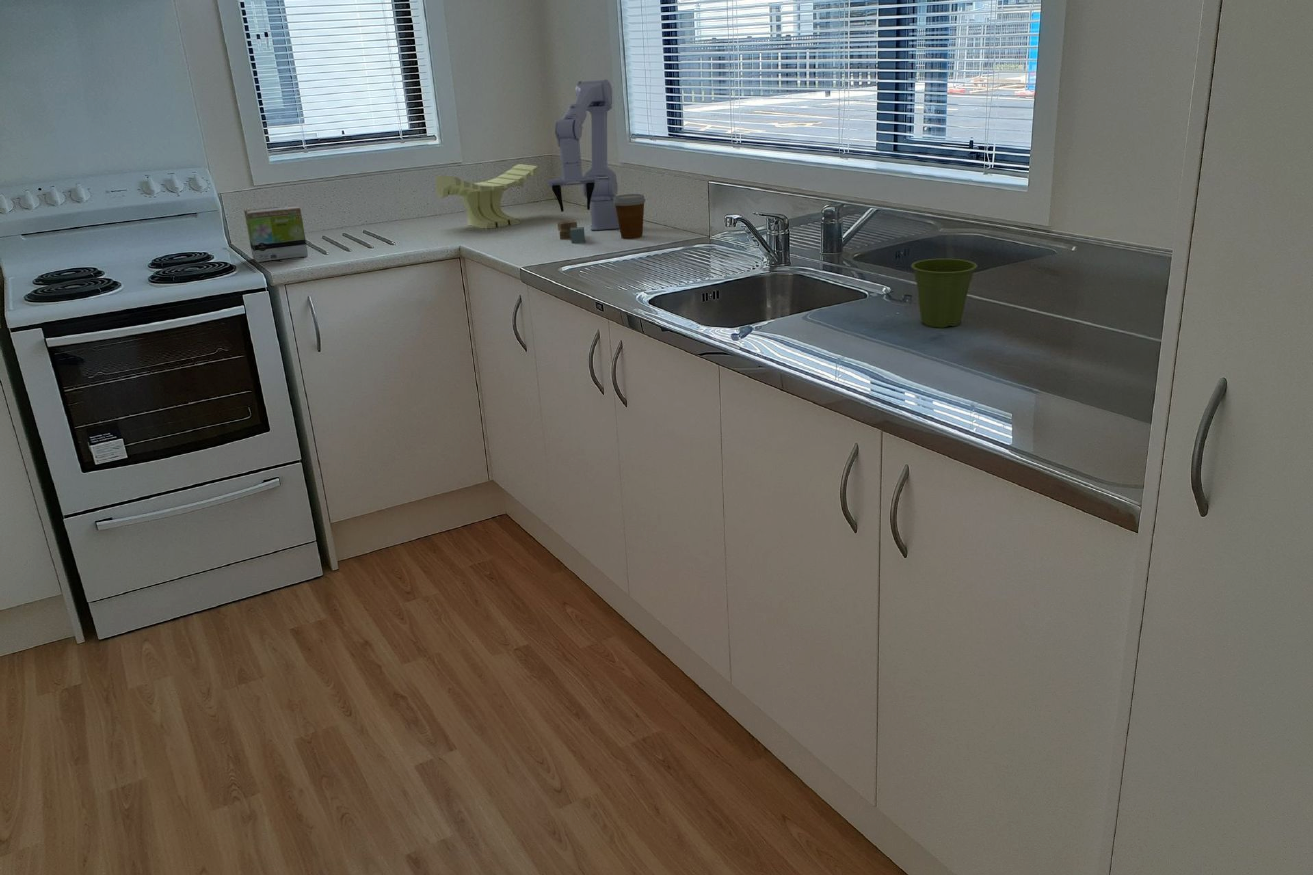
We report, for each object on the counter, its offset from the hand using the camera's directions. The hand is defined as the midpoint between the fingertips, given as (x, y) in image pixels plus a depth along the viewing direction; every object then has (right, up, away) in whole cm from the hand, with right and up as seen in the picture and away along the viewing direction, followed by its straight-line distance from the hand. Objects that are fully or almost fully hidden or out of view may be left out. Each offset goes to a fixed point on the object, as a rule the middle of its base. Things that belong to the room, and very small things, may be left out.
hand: (575, 210), depth 297 cm
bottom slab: (-3, -6, +12) cm, 14 cm away
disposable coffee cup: (+16, -7, +5) cm, 19 cm away
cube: (+1, -9, +3) cm, 9 cm away
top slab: (-3, -4, +11) cm, 12 cm away
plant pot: (+78, -45, -104) cm, 138 cm away
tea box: (-90, -12, +10) cm, 91 cm away
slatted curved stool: (-32, +5, +46) cm, 56 cm away
